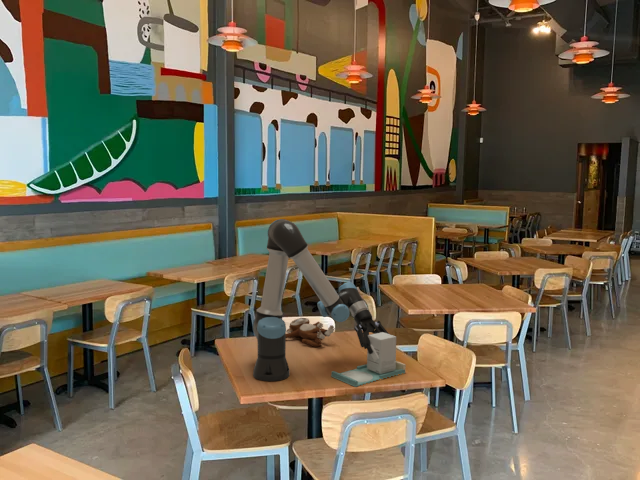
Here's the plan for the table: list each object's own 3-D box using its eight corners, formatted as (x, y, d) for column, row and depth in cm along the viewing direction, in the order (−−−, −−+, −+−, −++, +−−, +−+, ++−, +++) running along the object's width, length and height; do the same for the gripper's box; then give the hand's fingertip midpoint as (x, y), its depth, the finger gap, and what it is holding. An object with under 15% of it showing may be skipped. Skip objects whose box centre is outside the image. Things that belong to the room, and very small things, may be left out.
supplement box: (382, 364, 250) (383, 331, 248) (396, 370, 243) (397, 336, 241) (366, 368, 245) (366, 334, 243) (379, 374, 237) (380, 339, 236)
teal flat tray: (355, 387, 226) (355, 377, 225) (331, 376, 237) (331, 367, 237) (405, 372, 243) (405, 364, 243) (380, 363, 255) (381, 355, 254)
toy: (311, 335, 271) (269, 325, 291) (314, 355, 273) (272, 344, 294) (341, 320, 286) (299, 311, 307) (343, 339, 288) (302, 329, 309)
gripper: (374, 315, 261) (398, 357, 250) (338, 321, 248) (361, 366, 237) (383, 305, 256) (408, 348, 245) (346, 312, 243) (371, 357, 232)
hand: (385, 357), depth 241 cm, fingers closed on supplement box, 9 cm apart
